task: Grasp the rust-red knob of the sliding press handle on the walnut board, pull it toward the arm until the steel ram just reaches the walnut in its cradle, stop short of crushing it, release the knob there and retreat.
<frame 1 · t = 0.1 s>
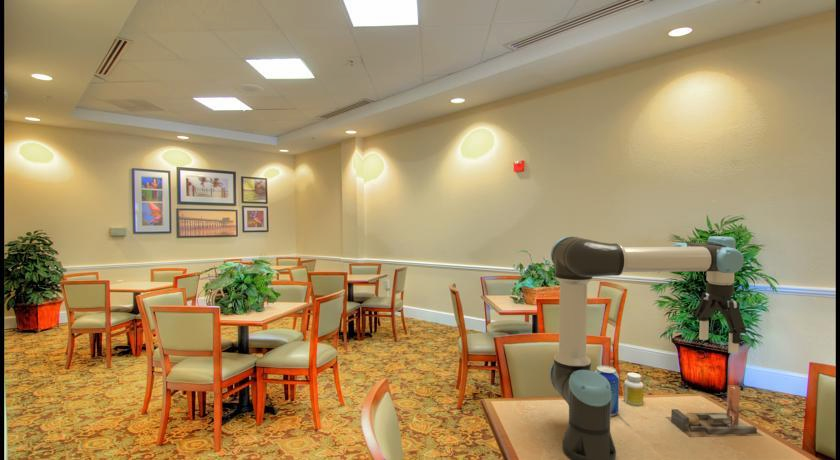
hand: (717, 345, 142), 28 cm above the table, fingers open, 13 cm apart
lever handle: (726, 406, 142), point 8 cm above the table, slide at 0.0 cm
pill bottle: (633, 405, 160), on the table
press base: (711, 429, 142), on the table
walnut: (691, 426, 142), point 1 cm above the table, touching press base
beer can: (605, 412, 154), on the table
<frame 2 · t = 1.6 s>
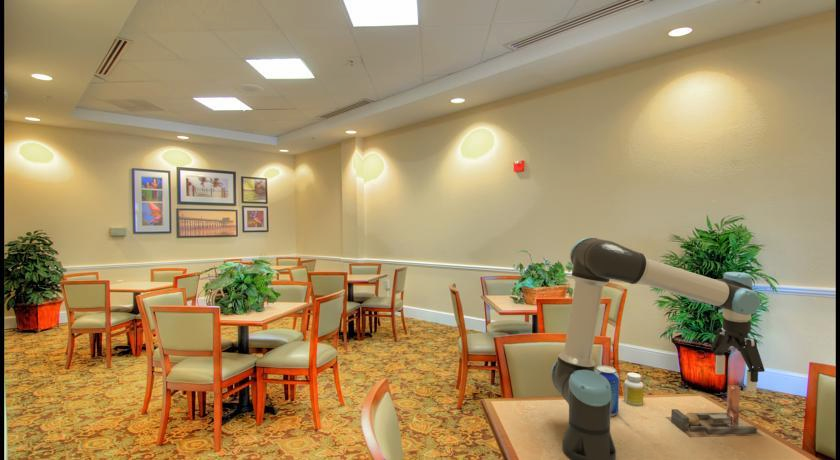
hand: (734, 382, 142), 16 cm above the table, fingers open, 13 cm apart
nothing on the table moved.
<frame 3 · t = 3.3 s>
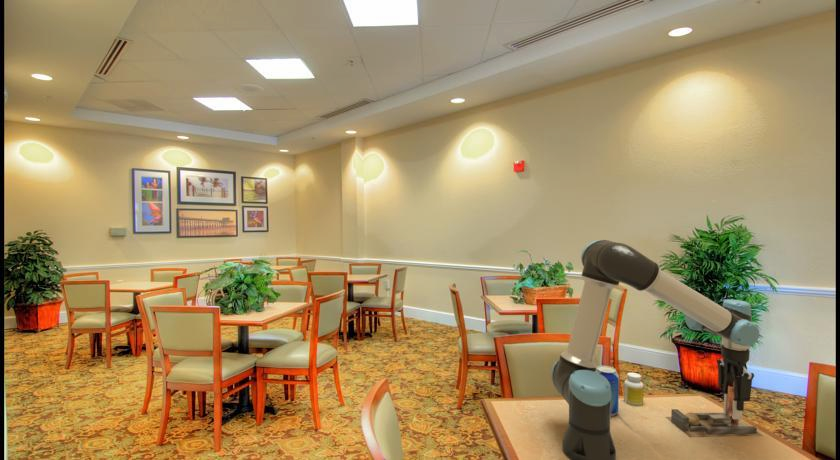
hand: (732, 415, 142), 5 cm above the table, fingers closed on lever handle, 3 cm apart
lever handle: (726, 406, 142), point 8 cm above the table, slide at 0.0 cm, touching gripper
everything else where it was.
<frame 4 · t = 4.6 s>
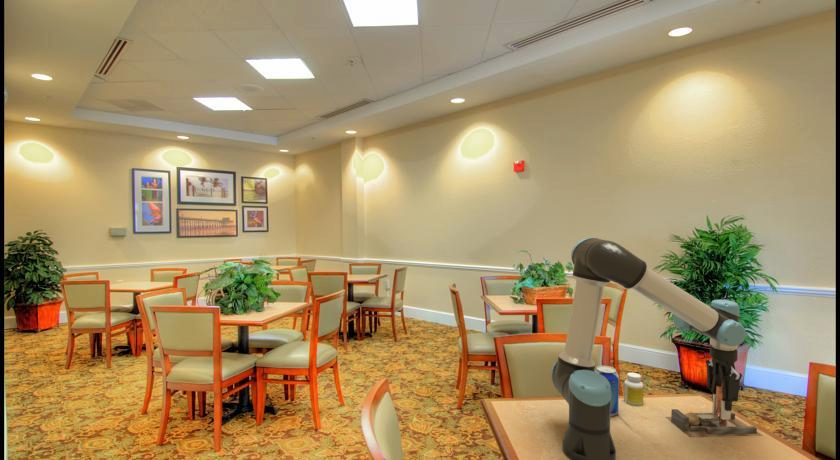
hand: (721, 415, 142), 5 cm above the table, fingers closed on lever handle, 3 cm apart
lever handle: (714, 406, 142), point 8 cm above the table, slide at 4.0 cm, touching gripper
everything else where it was.
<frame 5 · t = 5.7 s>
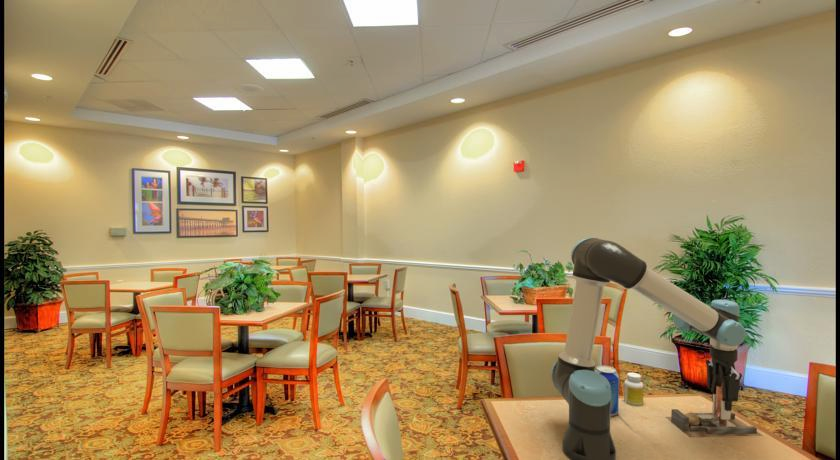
hand: (721, 415, 142), 5 cm above the table, fingers closed on lever handle, 3 cm apart
lever handle: (714, 406, 142), point 8 cm above the table, slide at 4.0 cm, touching gripper
everything else where it was.
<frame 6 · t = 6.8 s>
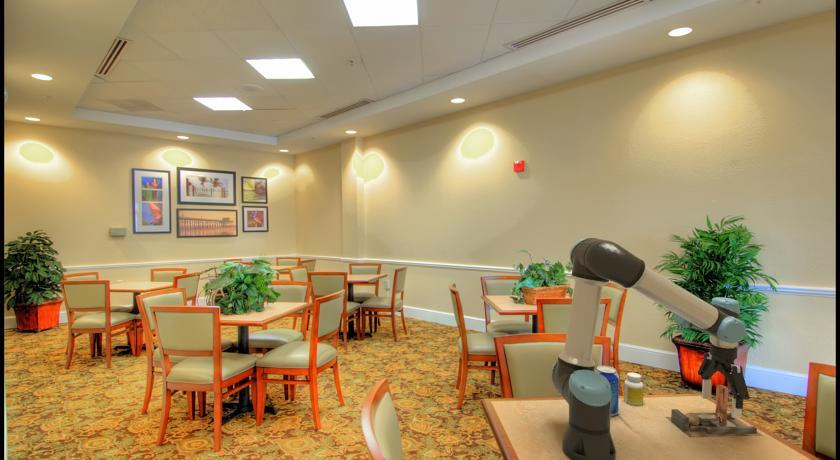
hand: (720, 407, 142), 7 cm above the table, fingers open, 13 cm apart
lever handle: (714, 406, 142), point 8 cm above the table, slide at 4.0 cm
everything else where it was.
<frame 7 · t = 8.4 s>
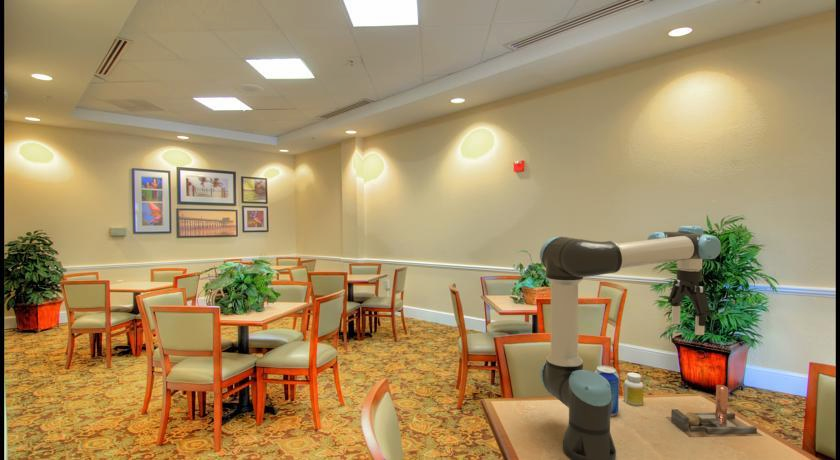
hand: (687, 329, 151), 31 cm above the table, fingers open, 13 cm apart
nothing on the table moved.
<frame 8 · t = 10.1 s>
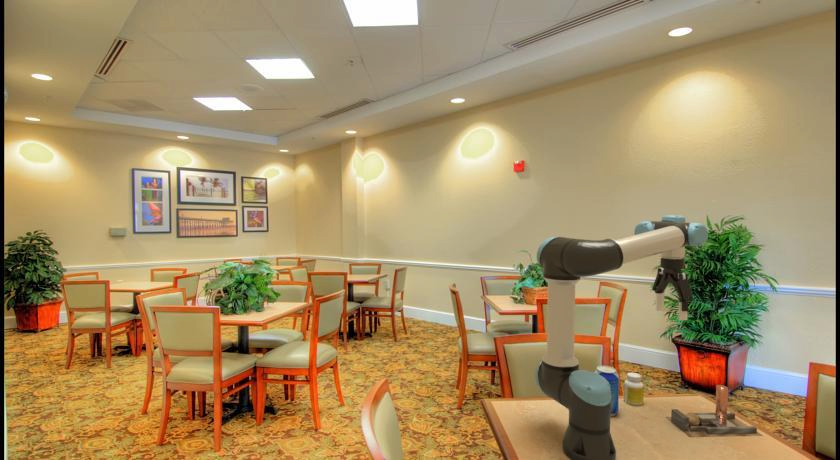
hand: (670, 315, 156), 35 cm above the table, fingers open, 13 cm apart
nothing on the table moved.
at the end: lever handle slide at 4.0 cm; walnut moved 0.1 cm from its start; the gripper is holding nothing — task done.
